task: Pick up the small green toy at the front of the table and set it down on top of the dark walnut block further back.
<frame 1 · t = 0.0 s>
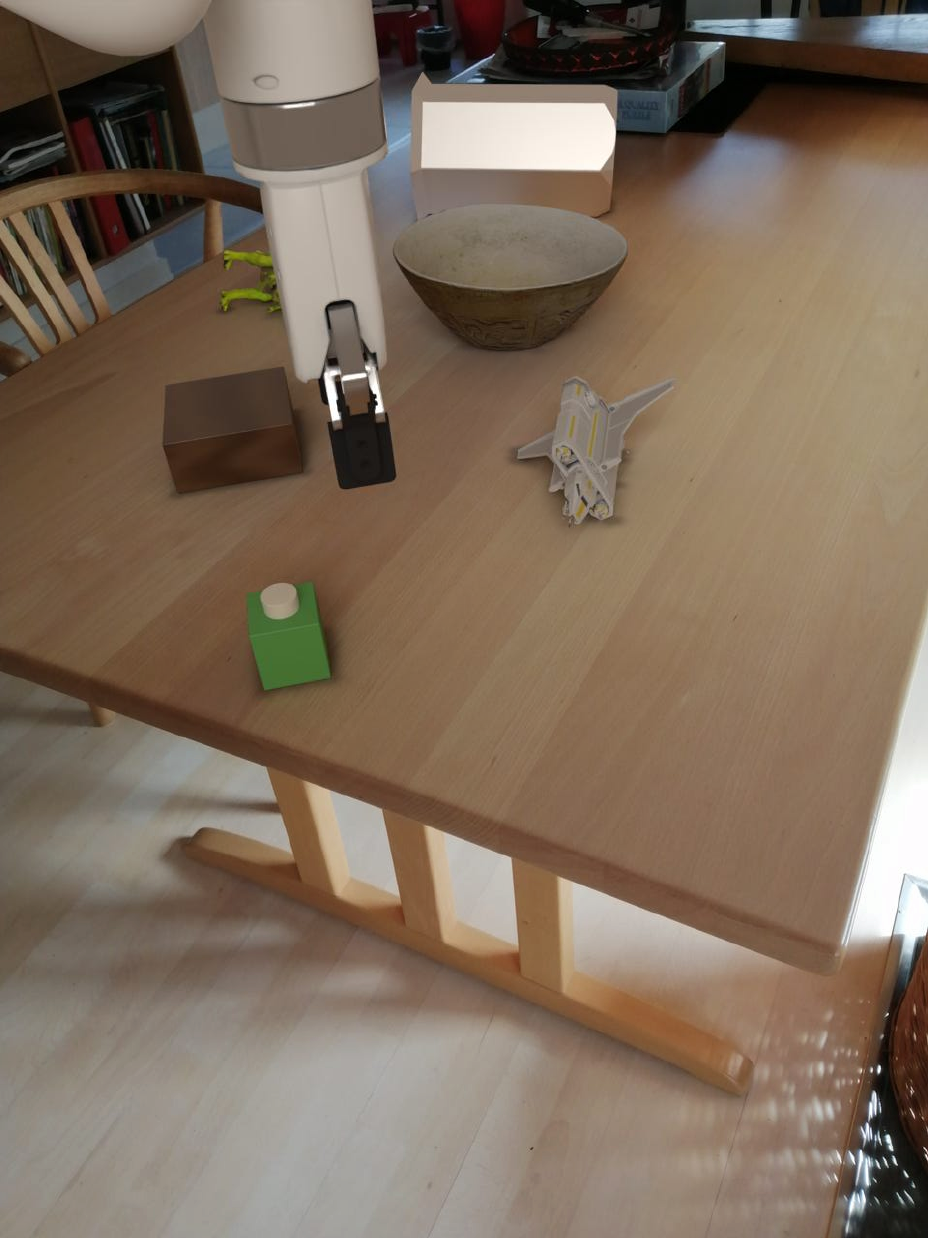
hand: (357, 438, 59), 17 cm above the table, tool pointing down, fingers open, 9 cm apart
green toy: (295, 662, 70), on the table
dinosaur figurine: (280, 298, 118), on the table
white boxy piece: (517, 212, 134), on the table
bowl: (514, 330, 107), on the table
walnut block: (238, 451, 92), on the table
toy spacecraft: (586, 501, 82), on the table
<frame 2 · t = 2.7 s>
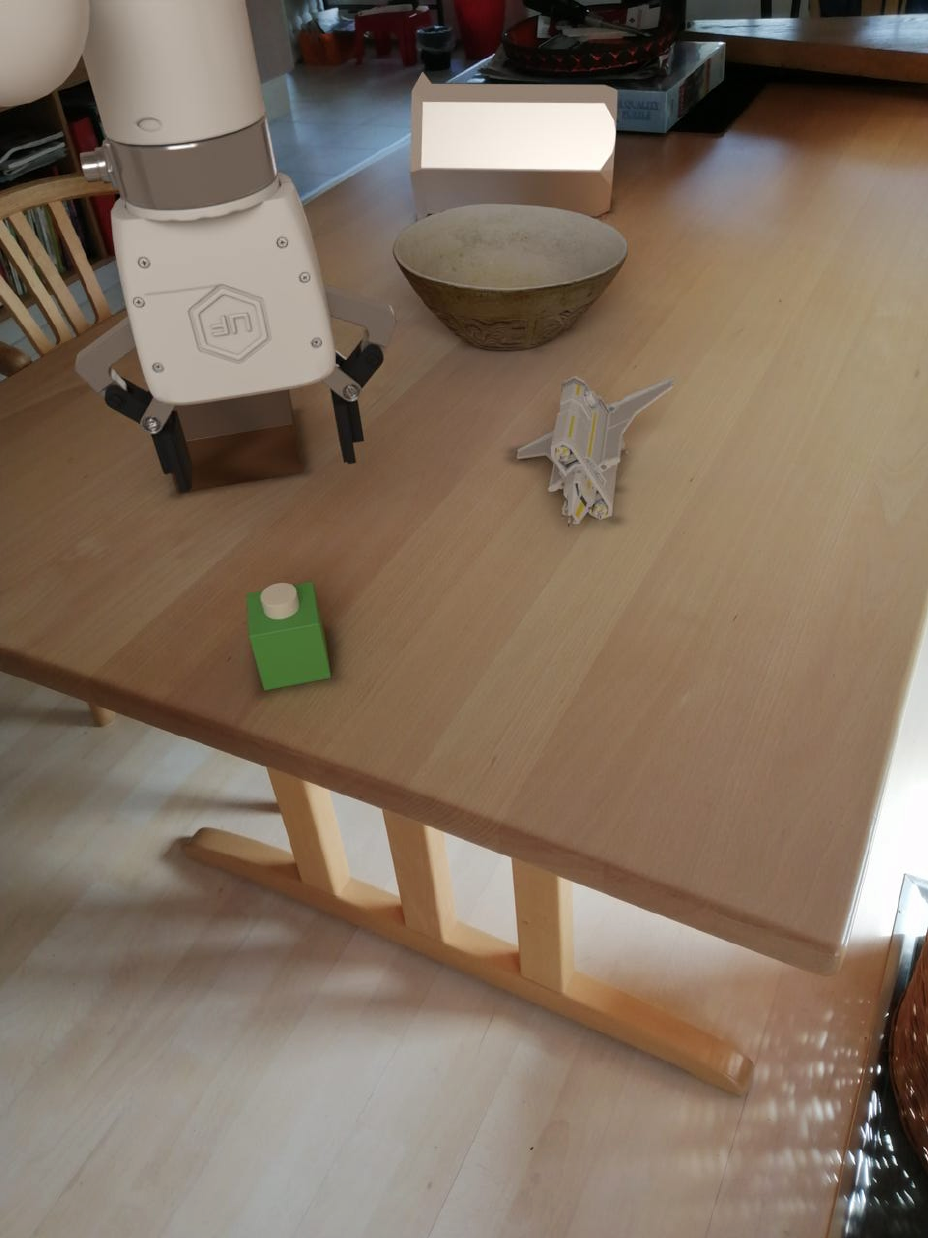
hand: (267, 465, 60), 16 cm above the table, tool pointing down, fingers open, 9 cm apart
nothing on the table moved.
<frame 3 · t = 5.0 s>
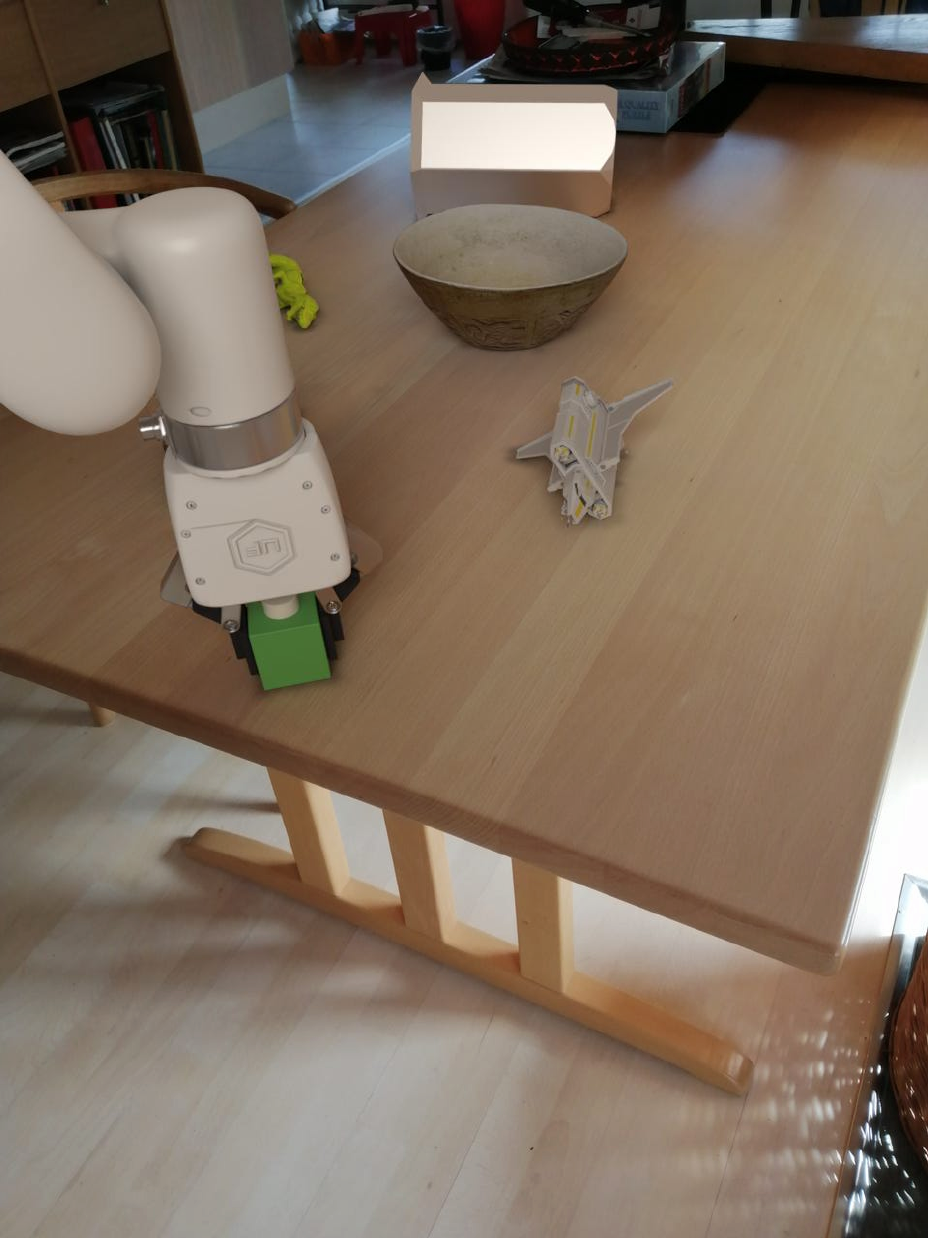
hand: (292, 652, 69), 1 cm above the table, tool pointing down, fingers closed on green toy, 4 cm apart
green toy: (295, 662, 70), on the table, touching gripper
everything else where it was.
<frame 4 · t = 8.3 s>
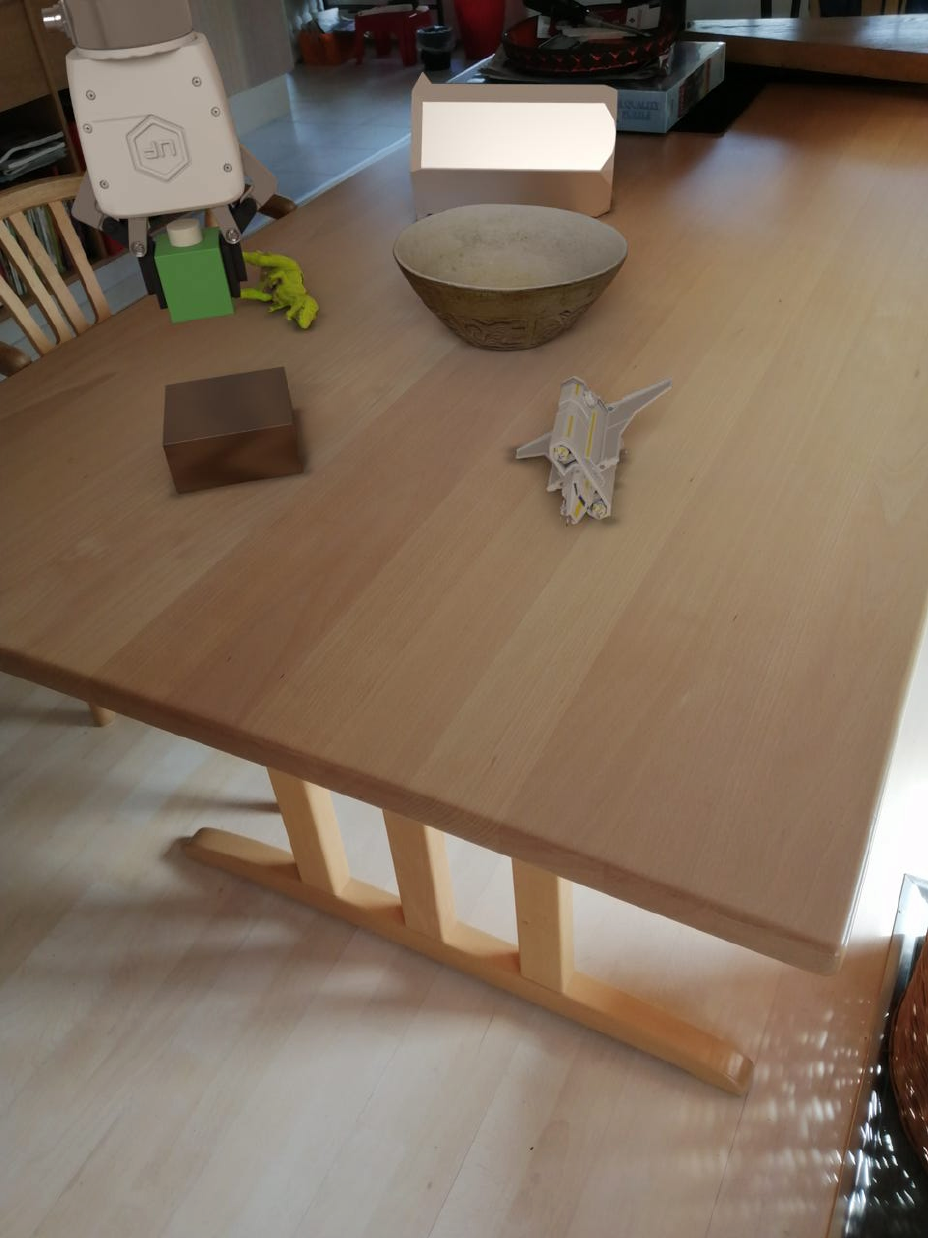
hand: (200, 293, 75), 18 cm above the table, tool pointing down, fingers closed on green toy, 4 cm apart
green toy: (203, 306, 76), point 17 cm above the table, touching gripper
everything else where it was.
when the fingers open (6 cm above the table, at t = 11.9 s): green toy stays where it is, resting on walnut block.
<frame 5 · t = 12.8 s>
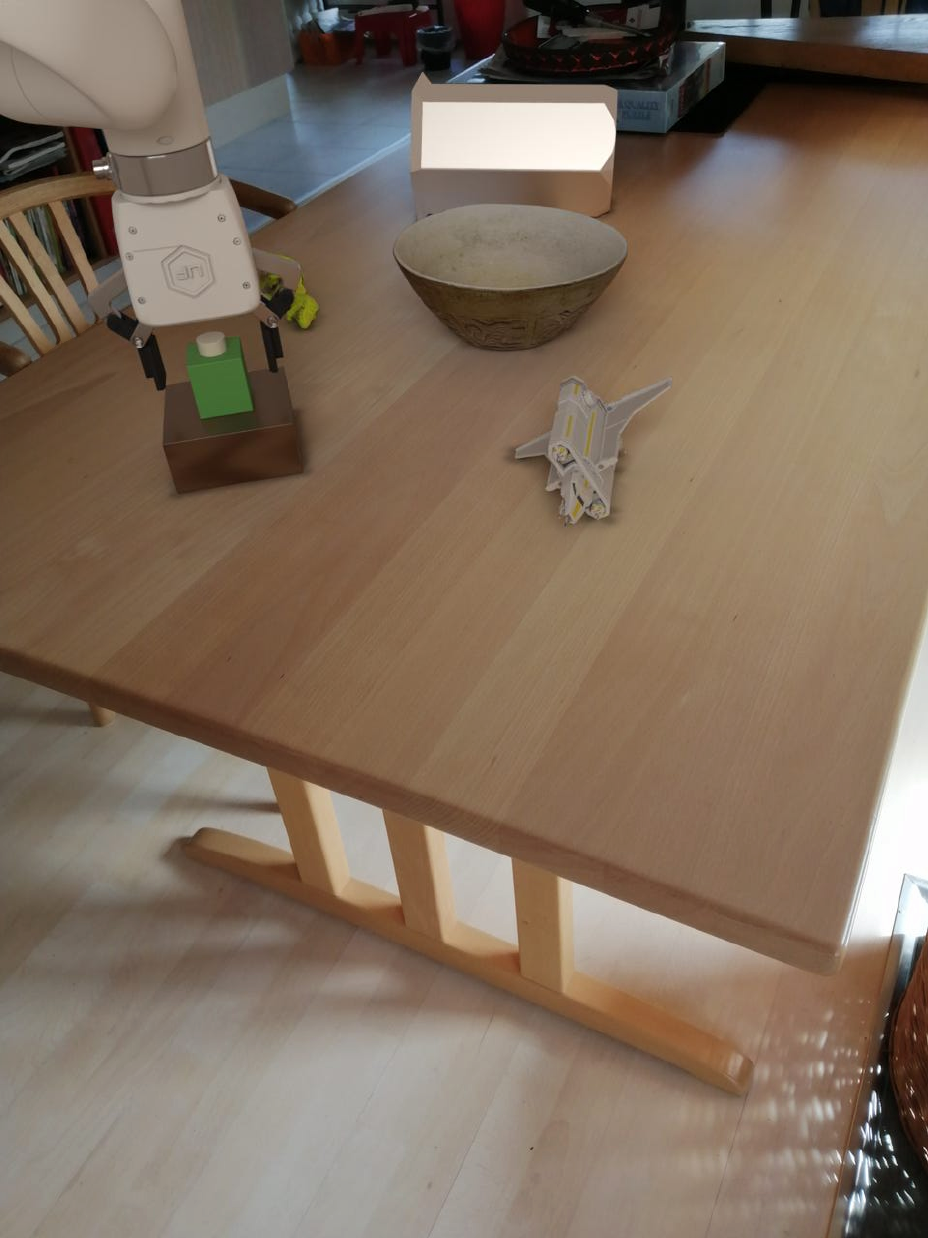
hand: (218, 374, 87), 8 cm above the table, tool pointing down, fingers open, 9 cm apart
green toy: (226, 402, 89), point 5 cm above the table, touching walnut block
everything else where it was.
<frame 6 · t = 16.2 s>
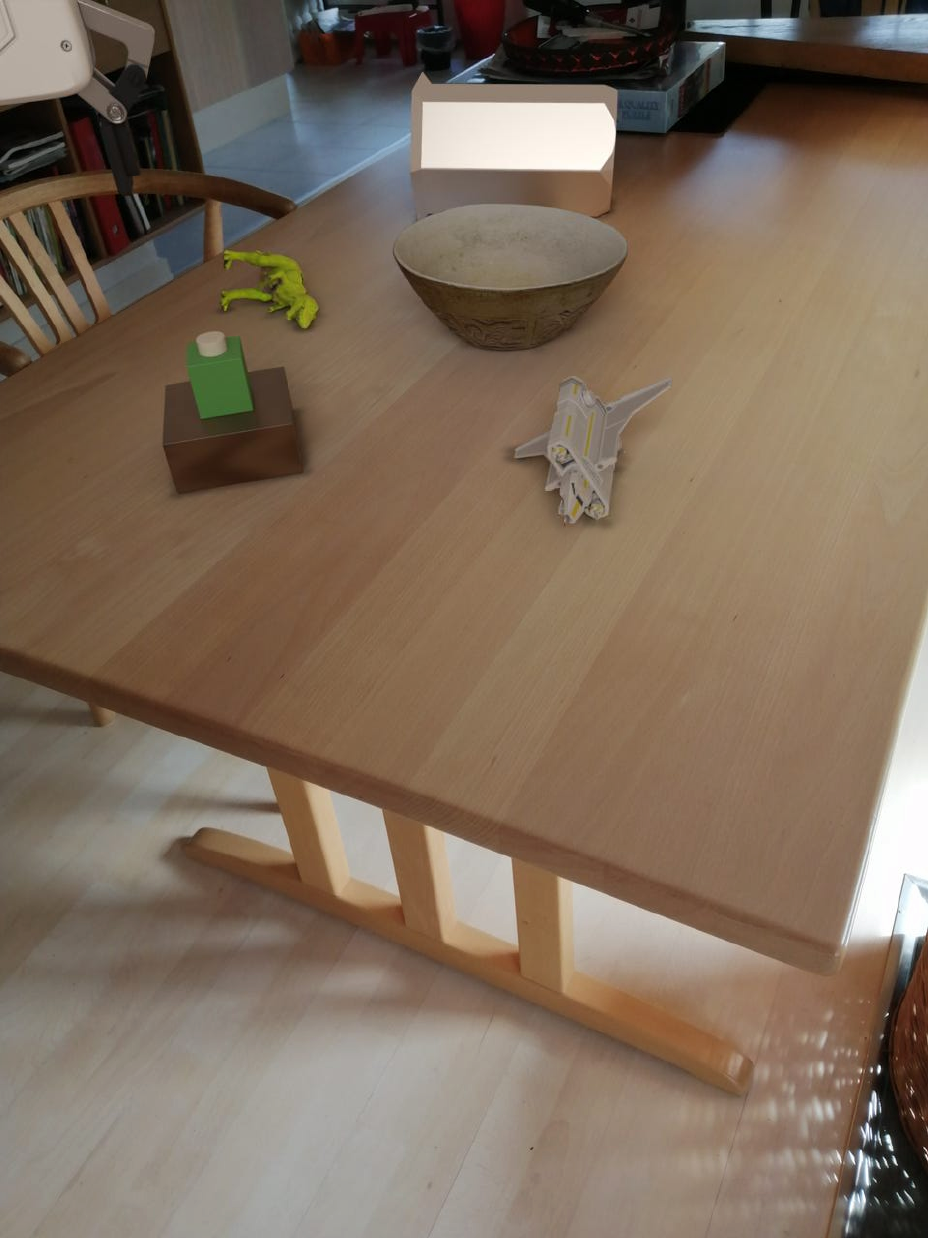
hand: (46, 200, 61), 28 cm above the table, tool pointing down, fingers open, 9 cm apart
nothing on the table moved.
at the end: green toy inside the target area on the walnut block (0.1 cm from its centre), point 5.0 cm above the walnut block's base; green toy tilted 0°; the gripper is holding nothing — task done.
